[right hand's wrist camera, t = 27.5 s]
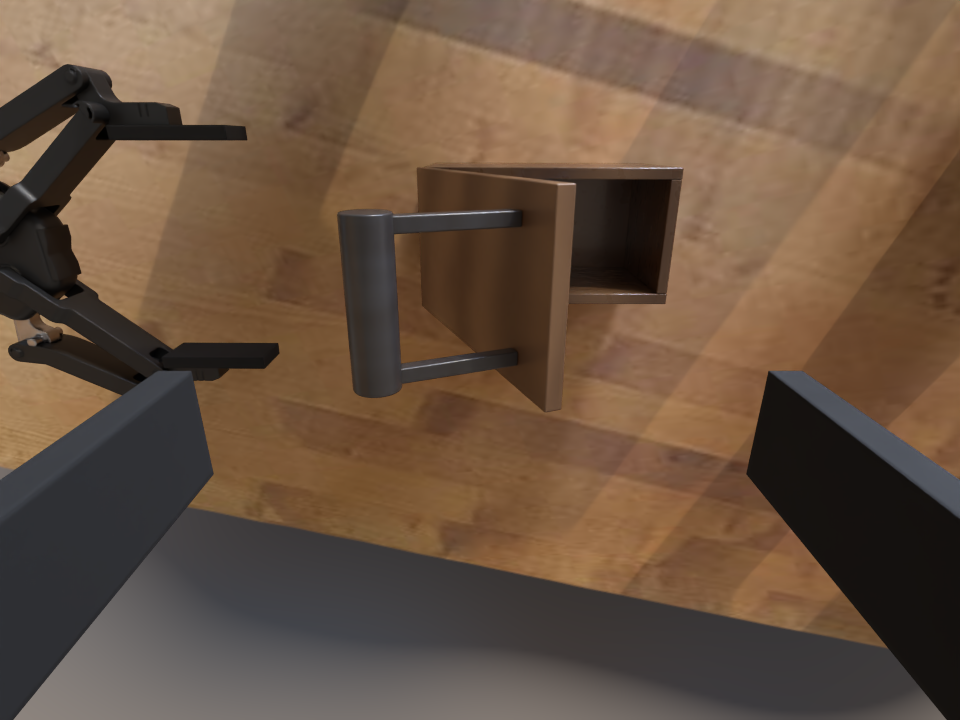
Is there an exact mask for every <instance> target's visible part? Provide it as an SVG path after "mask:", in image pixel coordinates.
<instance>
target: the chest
mask: <svg viewBox="0 0 960 720" xmlns="http://www.w3.org/2000/svg"><path fill="white" fill-rule="evenodd" d="M426 167H431V168H440V169H449V170H458V171H468V172H477V173H486V174H495V175H505V176H514V177H523V178H532V179H542V180H551V181H560V182H569V183H575V184H576V195H575V210H574V225H573V240H572V255H571V270H570V285H569V300H568V304H665V303H666V295H667V294H666V293H667V286H668V279H669V272H670V264H671V257H672V250H673V242H674V235H675V227H676V220H677V213H678V205H679V198H680V190H681V183H682V180H681V179H682V176H683V168H679V167H669V166H659V165H649V164H603V163H435V164H432V165H429V166H426Z"/></svg>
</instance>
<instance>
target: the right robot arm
mask: <svg viewBox="0 0 960 720" xmlns="http://www.w3.org/2000/svg"><path fill="white" fill-rule="evenodd" d="M212 476H213V469H212V464H211V460H210V455H209V450H208V446H207V441H206V437H205V432H204V427H203V423H202V418H201V413H200V409H199V404H198V399H197V395H196V390H195V386H194V381H193V376H192V372H191V371H157V372H155V373H154V374H153V375H151V376H150V377H148V378H147V379H145V380H144V381H142V382H141V383H140V384H138V385H137V386H135V387H134V388H132V389H131V390H129V391H128V392H127V393H125V394H124V395H122V396H121V397H119V398H118V399H116V400H115V401H114V402H112V403H111V404H109V405H108V406H106V407H105V408H103V409H102V410H101V411H99V412H98V413H96V414H95V415H93V416H92V417H90V418H89V419H88V420H86V421H85V422H83V423H82V424H80V425H79V426H77V427H76V428H75V429H73V430H72V431H70V432H69V433H67V434H66V435H65V436H63V437H62V438H60V439H59V440H57V441H56V442H54V443H53V444H52V445H50V446H49V447H47V448H46V449H44V450H43V451H41V452H40V453H39V454H37V455H36V456H34V457H33V458H31V459H30V460H28V461H27V462H26V463H24V464H23V465H21V466H20V467H18V468H17V469H15V470H14V471H13V472H11V473H10V474H8V475H7V476H5V477H4V478H2V479H1V480H0V720H13V719H14V718H15V717H16V716H17V714H18V713H19V712H20V711H21V710H22V708H23V707H24V706H25V705H26V703H27V702H28V701H29V700H30V699H31V697H32V696H33V695H34V694H35V692H36V691H37V690H38V689H39V687H40V686H41V685H42V684H43V683H44V681H45V680H46V679H47V678H48V677H49V675H50V674H51V673H52V672H53V670H54V669H55V668H56V667H57V665H58V664H59V663H60V662H61V661H62V659H63V658H64V657H65V656H66V654H67V653H68V652H69V651H70V650H71V648H72V647H73V646H74V645H75V643H76V642H77V641H78V640H79V638H80V637H81V636H82V635H83V634H84V632H85V631H86V630H87V629H88V627H89V626H90V625H91V624H92V622H93V621H94V620H95V619H96V618H97V616H98V615H99V614H100V613H101V611H102V610H103V609H104V608H105V607H106V605H107V604H108V603H109V602H110V601H111V599H112V598H113V597H114V596H115V594H116V593H117V592H118V591H119V589H120V588H121V587H122V586H123V585H124V583H125V582H126V581H127V580H128V578H129V577H130V576H131V575H132V574H133V572H134V571H135V570H136V569H137V567H138V566H139V565H140V564H141V563H142V561H143V560H144V559H145V558H146V556H147V555H148V554H149V553H150V552H151V550H152V549H153V548H154V547H155V545H156V544H157V543H158V542H159V540H160V539H161V538H162V537H163V536H164V534H165V533H166V532H167V531H168V529H169V528H170V527H171V526H172V525H173V523H174V522H175V521H176V520H177V518H178V517H179V516H180V515H181V513H182V512H183V511H184V510H185V509H186V507H187V506H188V505H189V504H190V502H191V501H192V500H193V499H194V498H195V496H196V495H197V494H198V493H199V491H200V490H201V489H202V488H203V487H204V485H205V484H206V483H207V482H208V480H209V479H210V478H211V477H212ZM747 476H748V477H749V478H750V479H751V480H752V482H753V483H754V484H755V485H756V487H757V488H758V489H759V490H760V491H761V493H762V494H763V495H764V496H765V498H766V499H767V500H768V501H769V502H770V504H771V505H772V506H773V507H774V509H775V510H776V511H777V512H778V514H779V515H780V516H781V517H782V518H783V520H784V521H785V522H786V523H787V525H788V526H789V527H790V528H791V529H792V531H793V532H794V533H795V534H796V536H797V537H798V538H799V539H800V540H801V542H802V543H803V544H804V545H805V547H806V548H807V549H808V550H809V552H810V553H811V554H812V555H813V556H814V558H815V559H816V560H817V561H818V563H819V564H820V565H821V566H822V567H823V569H824V570H825V571H826V572H827V574H828V575H829V576H830V577H831V578H832V580H833V581H834V582H835V583H836V585H837V586H838V587H839V588H840V589H841V591H842V592H843V593H844V594H845V596H846V597H847V598H848V599H849V601H850V602H851V603H852V604H853V605H854V607H855V608H856V609H857V610H858V612H859V613H860V614H861V615H862V616H863V618H864V619H865V620H866V621H867V623H868V624H869V625H870V626H871V627H872V629H873V630H874V631H875V632H876V634H877V635H878V636H879V637H880V639H881V640H882V641H883V642H884V643H885V645H886V646H887V647H888V648H889V650H890V651H891V652H892V653H893V654H894V656H895V657H896V658H897V659H898V661H899V662H900V663H901V664H902V665H903V667H904V668H905V669H906V670H907V672H908V673H909V674H910V675H911V677H912V678H913V679H914V680H915V681H916V683H917V684H918V685H919V686H920V688H921V689H922V690H923V691H924V692H925V694H926V695H927V696H928V697H929V699H930V700H931V701H932V702H933V703H934V705H935V706H936V707H937V708H938V710H939V711H940V712H941V713H942V714H943V716H944V717H945V718H946V719H947V720H960V480H959V479H958V478H956V477H955V476H953V475H952V474H950V473H949V472H947V471H946V470H945V469H943V468H942V467H940V466H939V465H937V464H936V463H934V462H933V461H932V460H930V459H929V458H927V457H926V456H924V455H923V454H921V453H920V452H919V451H917V450H916V449H914V448H913V447H911V446H910V445H908V444H907V443H906V442H904V441H903V440H901V439H900V438H898V437H897V436H895V435H894V434H893V433H891V432H890V431H888V430H887V429H885V428H884V427H883V426H881V425H880V424H878V423H877V422H875V421H874V420H872V419H871V418H870V417H868V416H867V415H865V414H864V413H862V412H861V411H859V410H858V409H857V408H855V407H854V406H852V405H851V404H849V403H848V402H846V401H845V400H844V399H842V398H841V397H839V396H838V395H836V394H835V393H833V392H832V391H831V390H829V389H828V388H826V387H825V386H823V385H822V384H820V383H819V382H818V381H816V380H815V379H813V378H812V377H810V376H809V375H807V374H806V373H805V372H803V371H769V372H768V376H767V381H766V386H765V390H764V395H763V399H762V404H761V409H760V413H759V418H758V423H757V427H756V432H755V437H754V441H753V446H752V450H751V455H750V460H749V464H748V469H747Z"/></svg>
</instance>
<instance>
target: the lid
mask: <svg viewBox="0 0 960 720" xmlns="http://www.w3.org/2000/svg"><path fill="white" fill-rule="evenodd" d="M417 186H418V212H419V213H403V214H393V213H392V211H389V210H381V209H356V210H345V211H340V212H338V213H337V220H338V230H339V241H340V252H341V263H342V274H343V284H344V295H345V306H346V317H347V328H348V338H349V349H350V360H351V371H352V382H353V390H354V392H355V393H356V394H357V395H359V396H362V397H367V398H380V397H386V396H390V395H393V394H395V393H397V392H399V391H400V390H401V388H402V384H404V383H410V382H416V381H423V380H429V379H435V378H442V377H448V376H454V375H460V374H467V373H473V372H479V371H485V370H492V369H495V370H497V371H498V372H499V373H500V374H501V375H502V376H504V377H505V378H506V379H507V380H508V381H509V382H510V383H512V384H513V385H514V386H515V387H516V388H517V389H518V390H520V391H521V392H522V393H523V394H524V395H525V396H526V397H528V398H529V399H530V400H531V401H532V402H533V403H535V404H536V405H537V406H538V407H539V408H540V409H541V410H543V411H544V412H550V411H555V410H560V409H561V406H562V391H563V376H564V361H565V346H566V331H567V316H568V300H569V285H570V270H571V255H572V240H573V225H574V210H575V195H576V184H575V183H569V182H560V181H551V180H542V179H532V178H523V177H514V176H505V175H495V174H486V173H477V172H468V171H458V170H449V169H440V168H431V167H418V168H417ZM407 233H419V238H420V264H421V291H422V306H423V307H424V308H425V309H427V310H428V311H429V312H430V313H431V314H432V315H434V316H435V317H436V318H437V319H438V320H439V321H440V322H442V323H443V324H444V325H445V326H446V327H447V328H448V329H450V330H451V331H452V332H453V333H454V334H455V335H456V336H458V337H459V338H460V339H461V340H462V341H463V342H464V343H466V344H467V345H468V346H469V347H470V348H471V349H473V350H474V351H475V352H476V353H471V354H464V355H457V356H451V357H444V358H437V359H430V360H423V361H416V362H409V363H402V364H401V353H400V335H399V317H398V299H397V281H396V263H395V245H394V234H407Z"/></svg>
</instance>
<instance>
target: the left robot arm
mask: <svg viewBox="0 0 960 720" xmlns="http://www.w3.org/2000/svg"><path fill="white" fill-rule="evenodd" d="M111 88H112V81H111V79H110V76H109V75H108V74H107V73H106V72H104V71H102V70H97V69H92V68H86V67H81V66H76V65H70V64H66V65H63V66H62V67H60V68H59V69H57V70H56V71H54V72H53V73H51V74H50V75H48V76H47V77H45V78H44V79H42V80H41V81H39V82H38V83H36V84H35V85H33V86H32V87H30V88H29V89H28V90H26V91H25V92H23V93H22V94H20V95H19V96H17V97H16V98H14V99H13V100H11V101H10V102H8V103H7V104H5V105H4V106H2V107H1V108H0V167H2V166H3V165H4V163H5V162H7V161H9V159H10V157H9V155H8V153H7V152H11V151H15V150H18V149H21V148H22V147H24V146H26V145H28V144H29V143H31V142H32V141H34V140H35V139H37V138H39V137H40V136H42V135H43V134H45V133H46V132H48V131H49V130H51V129H52V128H54V127H56V126H57V125H59V124H60V123H62V122H63V121H65V120H66V119H68V118H69V117H71V116H73V115H74V114H75V115H74V116H73V118H72V119H71V120H70V121H69V123H68V124H67V125H66V126H65V128H64V129H63V130H62V131H61V133H60V134H59V135H58V136H57V138H56V139H55V140H54V141H53V143H52V144H51V145H50V146H49V148H48V149H47V150H46V151H45V152H44V154H43V155H42V156H41V157H40V159H39V160H38V161H37V162H36V164H35V165H34V166H33V167H32V169H31V170H30V171H29V172H28V174H27V175H26V176H25V177H24V179H23V180H22V181H21V182H19V183H17V184H15V185H13V186H12V187H10V186H9V185H7V184H5V183H3V182H1V181H0V314H1V315H4V316H6V317H8V318H10V319H13V320H14V323H15V327H16V332H17V336H18V341H19V342H17V343H15V344H12V345H11V346H9V348H8V352H9V355H10V356H11V357H12V358H13V359H14V360H16V361H20V362H29V363H38V364H46V365H49V366H51V367H54V368H56V369H59V370H61V371H64V372H66V373H69V374H71V375H74V376H76V377H78V378H81V379H83V380H86V381H88V382H91V383H93V384H96V385H98V386H101V387H103V388H105V389H108V390H110V391H113V392H115V393H118V394H120V395H124V394H125V393H127V392H128V391H129V390H131V389H132V388H134V387H135V386H137V385H138V384H140V383H141V382H142V381H144V380H145V379H147V378H148V377H150V376H151V375H153V374H154V373H155V372H157V371H191V372H192V376H193V381H197V380H199V381H204V380H205V381H213V380H216V379H218V378H220V377H221V376H222V375H224V374H225V373H226V372H227V371H228V370H229V368H235V369H265V368H266V367H267V366H268V365H269V364H270V363H271V362H272V361H273V360H274V358H275V357H276V356H277V355H278V354H279V346H278V343H183V344H181V345H180V346H178V347H177V348H175V349H174V350H173V349H171V348H170V347H168V346H167V345H165V344H164V343H162V342H161V341H159V340H158V339H156V338H155V337H153V336H152V335H151V334H149V333H148V332H146V331H145V330H143V329H142V328H140V327H139V326H137V325H136V324H134V323H133V322H131V321H130V320H128V319H127V318H125V317H124V316H122V315H121V314H119V313H118V312H116V311H115V310H114V309H112V308H111V307H109V306H108V305H106V304H105V303H103V302H102V301H100V300H99V299H98V294H97V293H96V292H95V291H93V290H92V289H91V288H89V287H88V286H86V285H85V284H83V283H82V282H80V281H79V280H77V275H78V274H81V270H80V266H79V263H78V261H77V259H76V257H75V255H74V253H73V251H72V249H71V235H70V231H69V228H68V225H63V224H62V222H61V221H60V219H59V218H58V217H57V215H58V214H59V213H60V212H61V210H62V209H63V208H64V207H65V206H66V205H67V203H68V202H69V201H70V200H71V196H70V194H71V193H72V191H73V190H74V189H75V188H76V187H77V185H78V184H79V183H80V182H81V181H82V180H83V178H84V177H85V176H86V175H87V174H88V172H89V171H90V170H91V169H92V168H93V167H94V165H95V164H96V163H97V162H98V161H99V159H100V158H101V157H102V156H103V155H104V154H105V152H106V151H107V150H108V149H109V148H110V146H111V145H112V144H113V143H114V142H115V141H116V140H247V135H246V128H245V126H230V125H182V120H181V115H180V109H179V108H178V107H176V106H173V105H171V104H165V103H156V102H121V101H120V100H119V99H118V98H117V97H116V96H115V95H114V93H113V91H112V89H111ZM64 295H65V296H67V297H68V298H65V299H62V300H59V299H60V298H61V297H62V296H64ZM40 315H42V316H43V317H45V318H47V319H48V320H50V321H52V322H55V323H63V324H65V325H67V326H69V327H70V328H72V329H73V330H75V331H76V332H78V333H79V334H81V335H82V336H84V337H85V338H87V339H88V340H90V341H92V342H93V343H95V344H93V343H91V342H88V341H86V340H84V339H81V338H78V337H75V336H71V335H66V334H63V330H62V329H61V328H60V327H55V328H54V327H51V326H48V325H46V324H45V323H44V322H43V321H42V320H41V318H40Z"/></svg>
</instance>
